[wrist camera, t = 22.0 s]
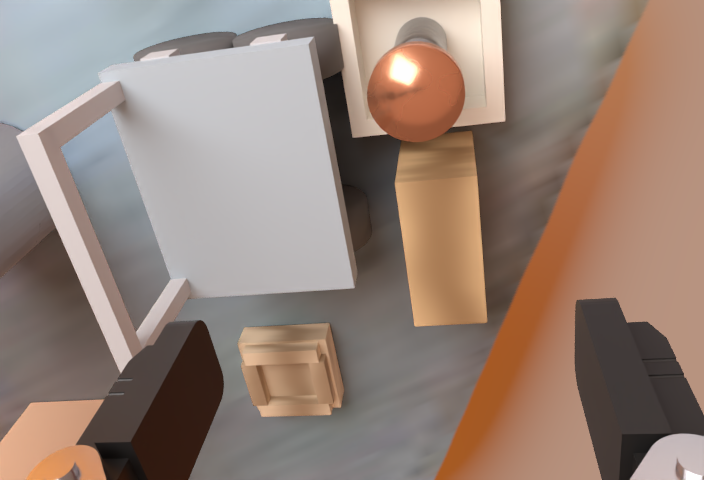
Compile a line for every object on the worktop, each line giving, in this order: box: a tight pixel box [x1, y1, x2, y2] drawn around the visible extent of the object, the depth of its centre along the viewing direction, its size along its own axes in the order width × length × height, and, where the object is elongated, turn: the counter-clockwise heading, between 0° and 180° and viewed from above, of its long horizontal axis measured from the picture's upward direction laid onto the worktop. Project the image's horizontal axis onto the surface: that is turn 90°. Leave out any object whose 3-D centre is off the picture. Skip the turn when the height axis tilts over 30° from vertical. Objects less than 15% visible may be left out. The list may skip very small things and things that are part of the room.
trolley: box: [16, 18, 372, 373], centre depth 35 cm, size 12×14×16 cm
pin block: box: [237, 323, 344, 417], centre depth 50 cm, size 7×7×3 cm
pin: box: [367, 17, 465, 142], centre depth 33 cm, size 4×4×10 cm
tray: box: [330, 0, 505, 138], centre depth 36 cm, size 9×9×3 cm
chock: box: [395, 131, 487, 326], centre depth 40 cm, size 4×10×7 cm, turn 9°
